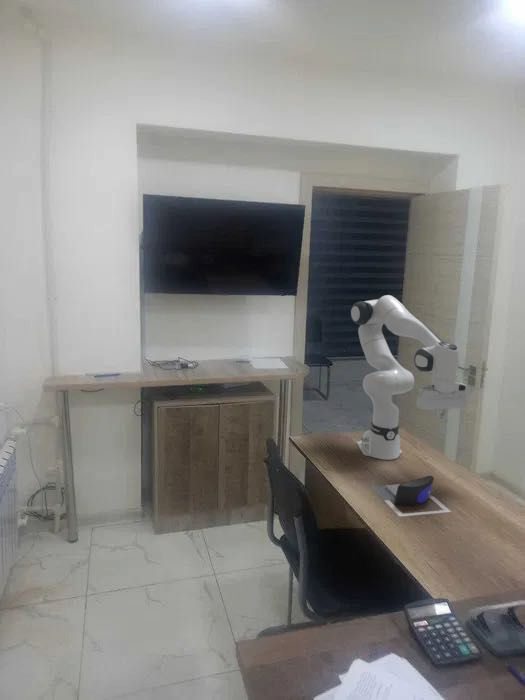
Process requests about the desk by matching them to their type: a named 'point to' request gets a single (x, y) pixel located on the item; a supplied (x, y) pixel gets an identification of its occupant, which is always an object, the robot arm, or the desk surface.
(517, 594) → the desk surface
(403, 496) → the leaning round-cornered charcoal block
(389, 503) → the mounting board
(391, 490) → the light grey rectangular plate
